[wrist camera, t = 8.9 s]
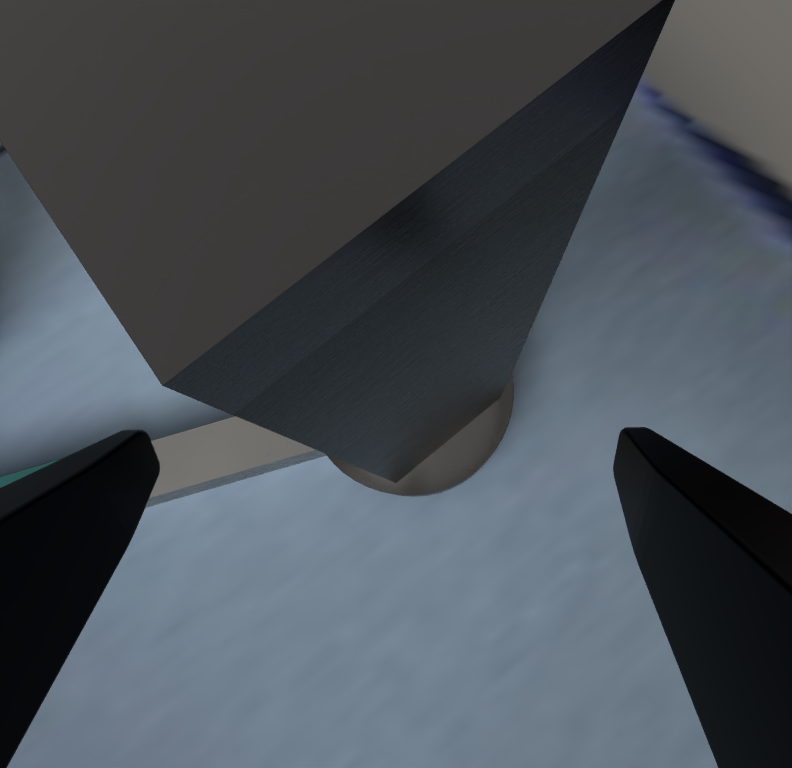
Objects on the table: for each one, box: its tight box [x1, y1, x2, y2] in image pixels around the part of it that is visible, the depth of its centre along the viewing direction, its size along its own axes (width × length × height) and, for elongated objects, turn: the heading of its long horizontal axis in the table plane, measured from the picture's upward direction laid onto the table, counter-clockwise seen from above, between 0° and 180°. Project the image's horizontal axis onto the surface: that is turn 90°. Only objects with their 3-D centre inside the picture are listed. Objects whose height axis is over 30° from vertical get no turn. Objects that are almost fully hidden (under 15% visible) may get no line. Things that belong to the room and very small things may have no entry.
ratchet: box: [0, 372, 513, 508], centre depth 17 cm, size 7×24×5 cm, turn 106°
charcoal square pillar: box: [0, 0, 675, 483], centre depth 10 cm, size 4×4×13 cm
